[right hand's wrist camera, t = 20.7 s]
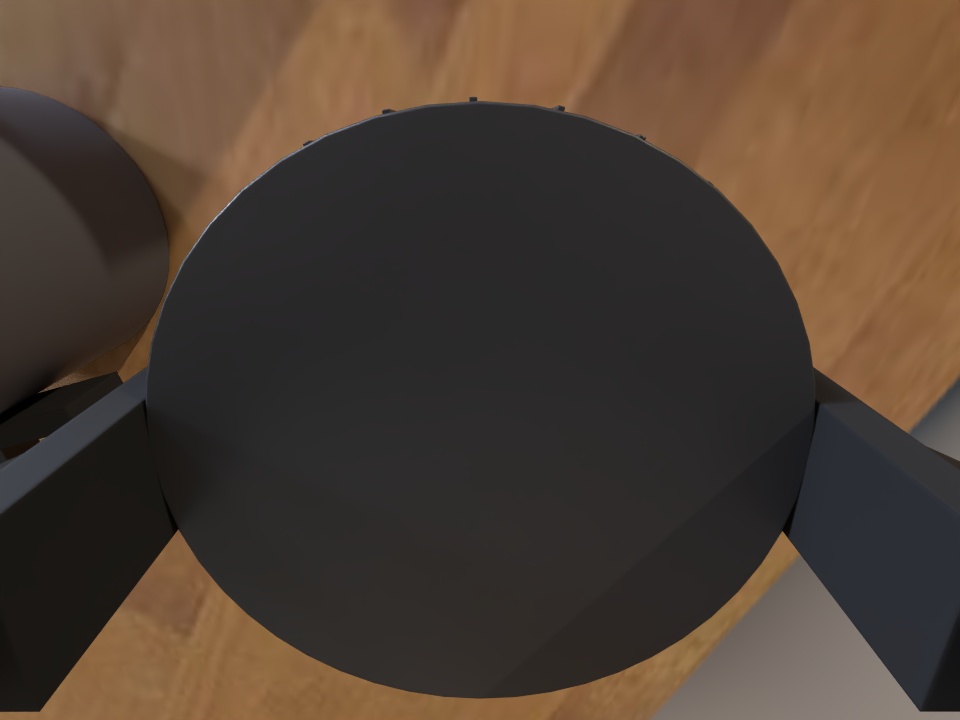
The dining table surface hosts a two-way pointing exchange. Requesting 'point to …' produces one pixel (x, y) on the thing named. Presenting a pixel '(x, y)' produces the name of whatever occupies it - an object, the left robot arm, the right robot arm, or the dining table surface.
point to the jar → (69, 244)
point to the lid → (480, 399)
